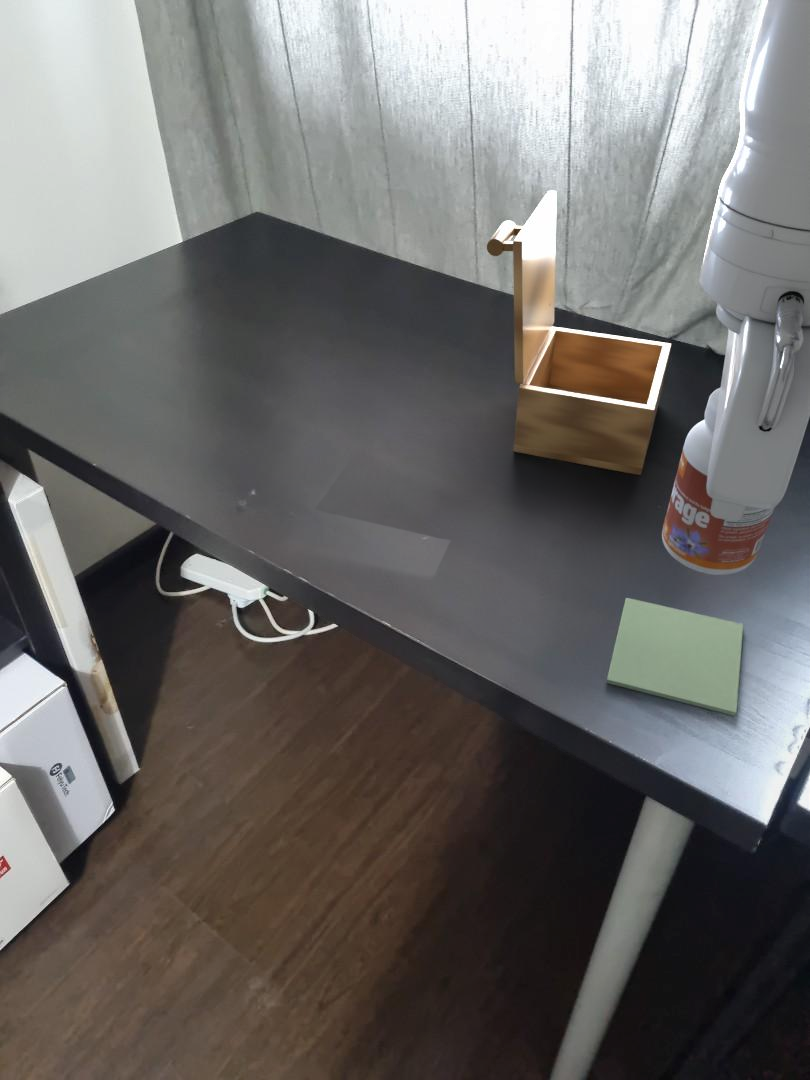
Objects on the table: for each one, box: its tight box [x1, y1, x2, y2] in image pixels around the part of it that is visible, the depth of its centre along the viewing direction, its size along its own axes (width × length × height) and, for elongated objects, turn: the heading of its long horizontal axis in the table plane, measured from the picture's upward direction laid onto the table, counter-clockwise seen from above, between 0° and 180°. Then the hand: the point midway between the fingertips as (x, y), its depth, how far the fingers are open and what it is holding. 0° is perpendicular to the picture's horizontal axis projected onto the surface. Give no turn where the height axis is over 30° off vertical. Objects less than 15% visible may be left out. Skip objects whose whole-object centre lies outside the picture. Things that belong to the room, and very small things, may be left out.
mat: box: [606, 597, 744, 717], centre depth 62 cm, size 9×9×1 cm
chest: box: [513, 326, 672, 476], centre depth 84 cm, size 13×14×7 cm
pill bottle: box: [661, 386, 775, 576], centre depth 52 cm, size 6×6×11 cm
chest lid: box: [486, 190, 557, 384], centre depth 79 cm, size 13×14×4 cm
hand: (729, 476), depth 51 cm, fingers closed on pill bottle, 6 cm apart
